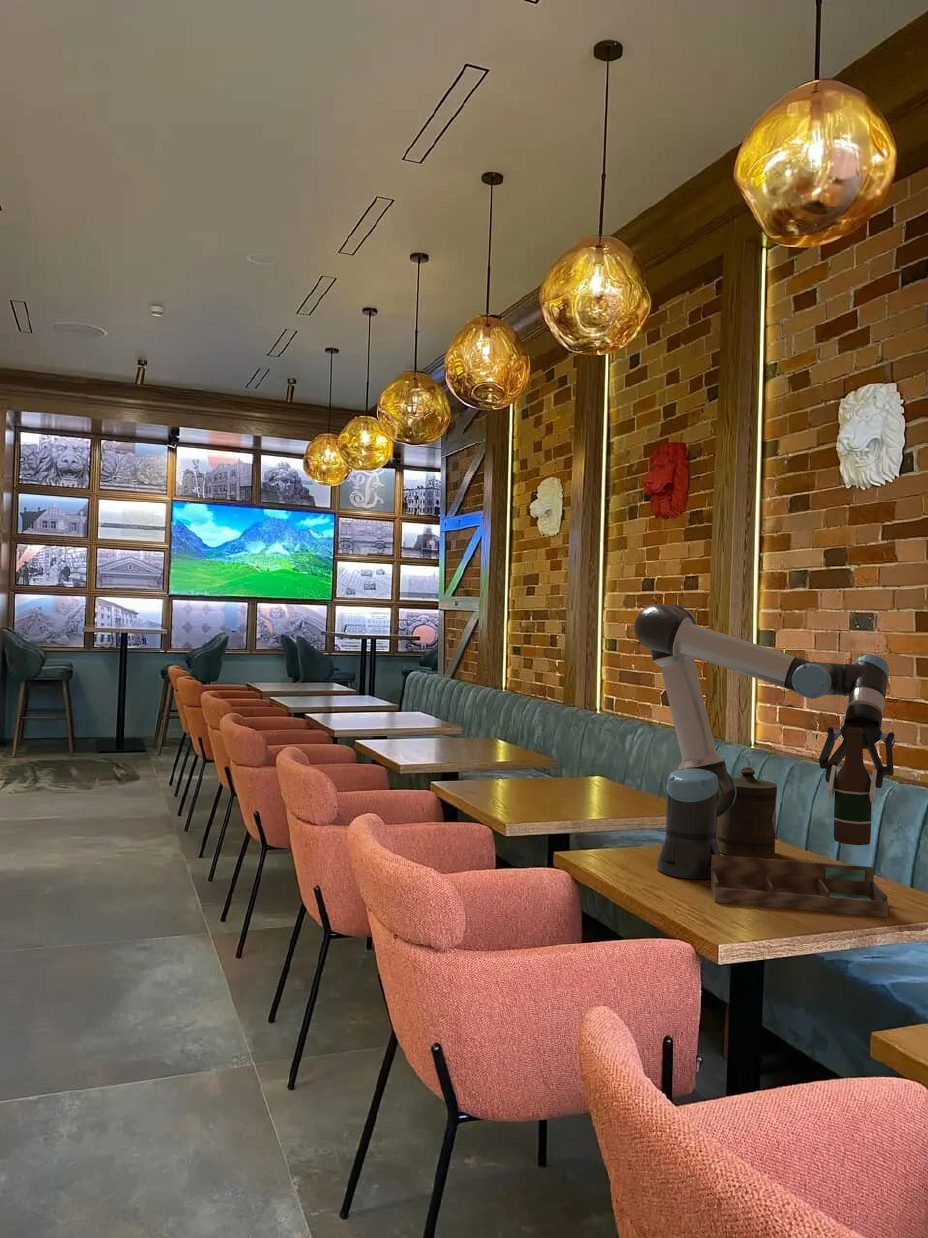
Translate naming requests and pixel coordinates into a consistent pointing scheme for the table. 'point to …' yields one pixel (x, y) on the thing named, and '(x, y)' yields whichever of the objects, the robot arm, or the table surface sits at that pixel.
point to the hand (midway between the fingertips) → (850, 796)
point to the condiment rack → (797, 885)
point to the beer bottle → (853, 794)
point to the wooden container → (749, 819)
